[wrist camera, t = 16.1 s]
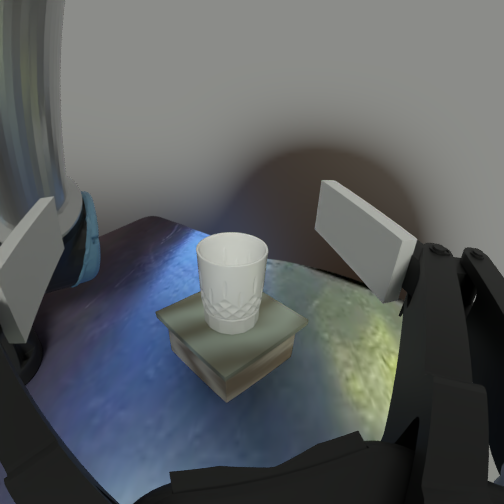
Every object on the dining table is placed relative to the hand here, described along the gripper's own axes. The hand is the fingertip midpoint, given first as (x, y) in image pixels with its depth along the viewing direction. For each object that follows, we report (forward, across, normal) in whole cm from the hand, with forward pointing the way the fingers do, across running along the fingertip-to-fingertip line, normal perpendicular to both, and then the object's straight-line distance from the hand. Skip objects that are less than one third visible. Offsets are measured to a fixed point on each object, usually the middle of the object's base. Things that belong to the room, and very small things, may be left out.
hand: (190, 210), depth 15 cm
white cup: (+16, +6, -22) cm, 28 cm away
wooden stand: (+16, +6, -28) cm, 33 cm away
